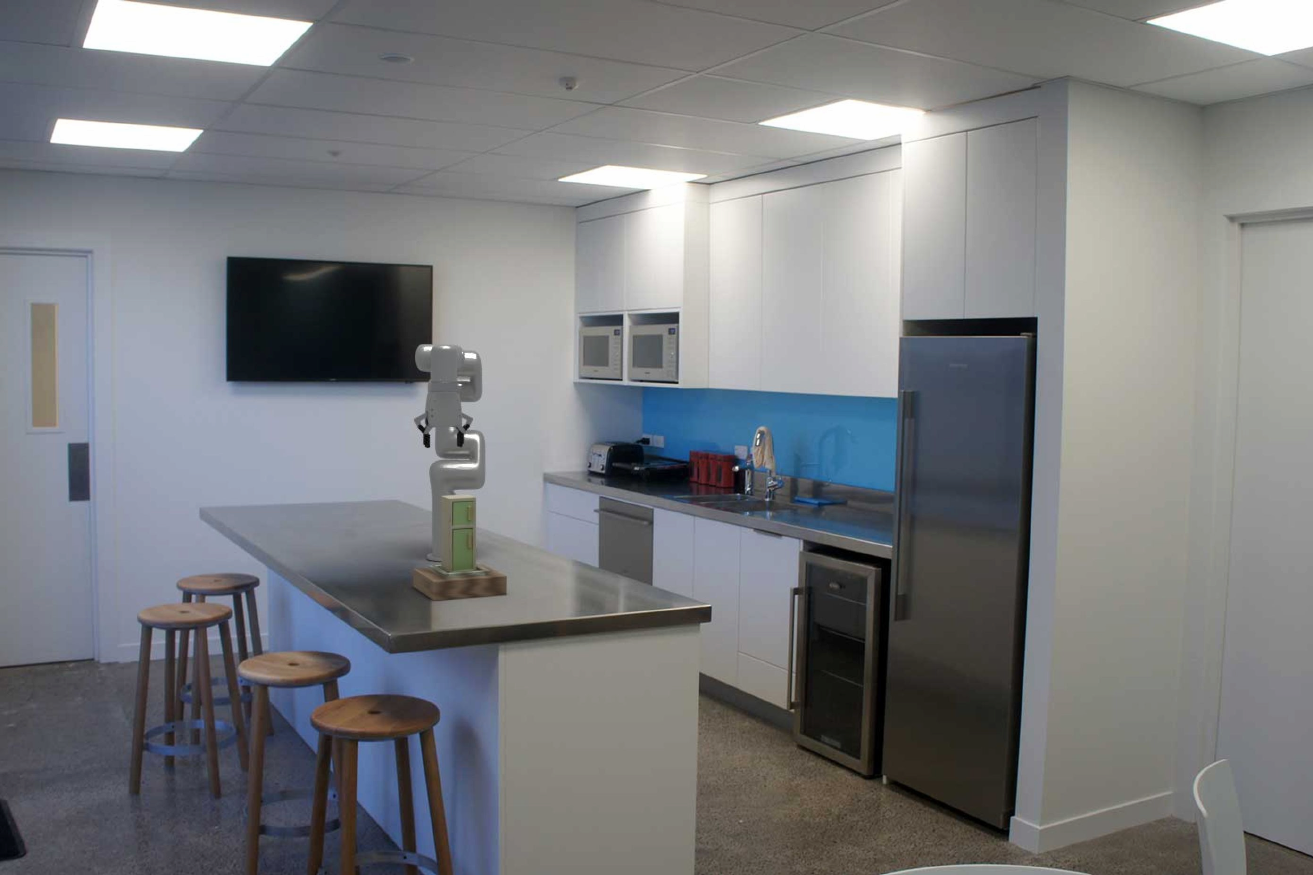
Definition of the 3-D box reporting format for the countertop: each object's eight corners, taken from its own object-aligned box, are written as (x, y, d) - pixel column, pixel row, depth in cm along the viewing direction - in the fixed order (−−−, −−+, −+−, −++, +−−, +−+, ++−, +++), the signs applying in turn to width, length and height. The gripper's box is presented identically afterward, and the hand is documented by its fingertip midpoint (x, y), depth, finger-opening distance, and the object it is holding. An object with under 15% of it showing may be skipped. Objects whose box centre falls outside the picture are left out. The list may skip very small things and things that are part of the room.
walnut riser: (482, 581, 320) (482, 559, 319) (506, 594, 302) (506, 571, 302) (413, 586, 311) (413, 564, 310) (434, 600, 293) (434, 577, 292)
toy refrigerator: (449, 575, 301) (449, 498, 300) (440, 571, 308) (440, 495, 306) (477, 573, 305) (477, 497, 304) (468, 569, 311) (468, 494, 310)
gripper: (468, 387, 330) (468, 445, 331) (410, 387, 322) (410, 446, 323) (476, 388, 323) (476, 447, 325) (418, 388, 315) (417, 449, 316)
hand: (443, 447), depth 324 cm, fingers open, 9 cm apart
